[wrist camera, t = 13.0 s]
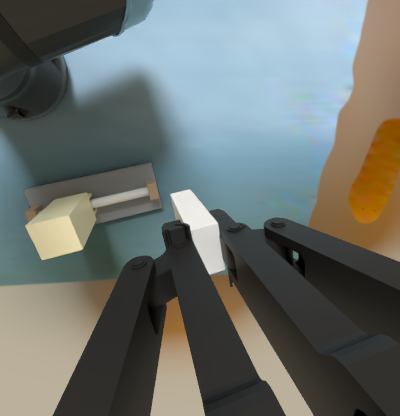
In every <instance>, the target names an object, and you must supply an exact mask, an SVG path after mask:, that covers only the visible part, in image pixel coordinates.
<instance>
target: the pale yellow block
mask: <svg viewBox="0 0 400 416" xmlns="http://www.w3.org/2000/svg"><path fill="white" fill-rule="evenodd" d="M91 196H92V194H91V193H87V192H86V193H81V194H77V195H72V196H68V197H63V198H59V199H55V200H54V201H52V202H51V203H50V204H49V205H48V206H47V207H46V208H45V209H43V210H42V211H41V212H40V213H39V214H38V215H37V216H35V217H34V218H33V219H32V220H31V221H30V222H29V223H27V224H26V225H25V227H26V229H27V231H28V233H29V235H30V237H31V239H32V241H33V243H34V245H35V247H36V249H37V251H38V253H39V255H40V257H41V259H42V260H46V259H49V258H53V257H57V256H61V255H64V254H68V253H72V252H76V251H80V250H83V248H84V246H85V244H86V242H87V239H88V237H89V235H90V233H91V230H92V228H93V226H94V224H95V221H96V216H95V214H96V212H97V208H94V209H93V208H92V206H91V203H90V200H89V199H90V198H91Z"/></svg>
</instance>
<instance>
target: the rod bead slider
mask: <svg viewBox="0 0 400 416" xmlns="http://www.w3.org/2000/svg"><path fill="white" fill-rule="evenodd" d="M86 192H87V193H91V194H92V196H91V198H90V199H89V200H90V203H91V206H92V208H93V209H94V208H97V212H96V214H95V216H96V221H95V224H99V223H103V222H107V221H111V220H115V219H119V218H123V217H127V216H131V215H135V214H139V213H143V212H147V211H151V210H155V209H159V208H162V204H161V199H160V195H159V191H158V187H157V183H156V179H155V175H154V171H153V167H152V163H151V162H149V163H144V164H139V165H135V166H130V167H125V168H120V169H116V170H111V171H106V172H102V173H97V174H92V175H87V176H83V177H78V178H73V179H69V180H64V181H59V182H54V183H50V184H45V185H40V186H35V187H31V188H26V189H24V190H23V193H24V195H25V197H26V199H27V201H28V203H29V205H30V208H29V209H28V210H26V211H25V212H24V214H25V216H26V218H27V220H28V222H30V221H31V220H32V219H33V218H34V217H35V216H37V215H38V214H39V213H40V212H41V211H42V210H43V209H45V208H46V207H47V206H48V205H49V204H50V203H51V202H52V201H54V200H55V199H59V198H63V197H68V196H72V195H77V194H81V193H86ZM95 224H94V225H95Z"/></svg>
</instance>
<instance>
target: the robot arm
mask: <svg viewBox="0 0 400 416" xmlns="http://www.w3.org/2000/svg"><path fill="white" fill-rule="evenodd" d="M152 4H153V0H0V117H3V118H8V119H18V120H28V119H35V118H39V117H42V116H44V115H46V114H48V113H50V112H51V111H52V110H54V109H55V108H56V107H57V106H58V104H59V103H60V102H61V100H62V98H63V96H64V93H65V90H66V86H67V69H66V64H65V61H64V58H63V55H65V54H67V53H70V52H72V51H75V50H77V49H80V48H82V47H84V46H87V45H89V44H92V43H94V42H97V41H99V40H101V39H104V38H106V37H109V36H111V35H112V36H114V37H115V36H119V35H121V33H123V32H124V30H126V29H128V28H130V27H132V26H134V25H137V24H139V23H141V22H142V21H144V20H145V19H146V17H147V15H148V14H149V12H150V11H151V8H152ZM170 196H171V200H172V204H173V209H174V213H175V217H176V221H172V222H168V223H165V224H164V225H163V226H162V235H163V238H164V242H165V246H166V251H165V252H164V254H163V255H161V256H160V257H158V258H157V259H155V260H153V258H152V257H150V256H140V257H136V258H133V259H132V260H130V261H129V262H127V263H126V265H125V266H124V268H123V270H122V272H121V274H120V276H119V278H118V280H117V282H116V285H115V287H114V289H113V291H112V293H111V295H110V298H109V299H108V301H107V303H106V305H105V308H104V309H103V312H102V314H101V316H100V318H99V320H98V322H97V324H96V326H95V328H94V330H93V332H92V335H91V337H90V339H89V341H88V343H87V345H86V347H85V349H84V351H83V353H82V356H81V358H80V360H79V362H78V364H77V366H76V368H75V370H74V372H73V374H72V376H71V378H70V380H69V383H68V385H67V387H66V389H65V391H64V393H63V395H62V397H61V400H60V401H59V403H58V406H57V408H56V410H55V412H54V414H53V416H150V412H151V406H152V399H153V393H154V387H155V380H156V373H157V367H158V361H159V354H160V348H161V341H162V335H163V328H164V322H165V316H166V309H167V306H166V303H167V302H168V301H170V300H172V299H173V298H175V297H177V296H178V300H179V305H180V309H181V313H182V317H183V321H184V326H185V330H186V334H187V338H188V342H189V347H190V351H191V355H192V359H193V364H194V368H195V372H196V376H197V380H198V385H199V389H200V393H201V397H202V402H203V407H204V412H205V416H286V415H285V413H284V412H283V410H282V408H281V406H280V404H279V402H278V400H277V398H276V396H275V394H274V392H273V391H272V389H271V387H270V386H269V384H268V383H267V382H266V381H263V380H261V379H260V377H259V376H258V374H257V372H256V370H255V368H254V366H253V364H252V362H251V359H250V357H249V355H248V353H247V351H246V349H245V347H244V345H243V343H242V341H241V339H240V337H239V335H238V333H237V331H236V329H235V327H234V325H233V322H232V320H231V318H230V316H229V315H228V312H227V310H226V308H225V306H224V304H223V302H222V300H221V298H220V296H219V294H218V292H217V290H216V288H215V285H214V283H213V281H212V280H211V277H210V275H209V274H213V273H216V272H219V271H222V270H225V265H224V262H225V263H226V265H227V269H228V275H229V282H230V287H232V282H233V283H234V284H235V286H236V288H237V289H238V291H239V293H240V294H241V296H242V297H243V299H244V301H245V303H246V304H247V306H248V307H249V309H250V311H251V312H252V314H253V316H254V317H255V319H256V320H257V322H258V324H259V326H260V327H261V329H262V331H263V332H264V334H265V335H266V337H267V339H268V340H269V342H270V344H271V345H272V347H273V349H274V350H275V352H276V354H277V355H278V357H279V359H280V360H281V362H282V364H283V365H284V367H285V369H286V370H287V372H288V373H289V375H290V377H291V378H292V380H293V382H294V383H295V385H296V387H297V388H298V390H299V392H300V393H301V395H302V397H303V398H304V400H305V401H306V403H307V405H308V406H309V408H310V410H311V411H312V413H313V415H314V416H400V262H398V261H396V260H393V259H391V258H388V257H385V256H383V255H380V254H378V253H375V252H372V251H370V250H367V249H364V248H361V247H359V246H356V245H354V244H351V243H348V242H346V241H343V240H341V239H338V238H335V237H333V236H330V235H328V234H325V233H322V232H319V231H317V230H314V229H311V228H309V227H306V226H304V225H301V224H299V223H296V222H293V221H291V220H288V219H284V218H272V219H269V220H267V221H265V223H264V229H256V230H251V229H250V228H249V227H248V226H247V225H245V224H243V223H236V222H235V221H234V220H233V219H232V218H230V217H229V216H228V215H227V214H226V213H225V212H224V211H223V210H220V209H216V210H212V211H207V209H206V208H205V207H204V206H203V205H202V203H201V202H200V201H199V200H198V198H197V197H196V196H195V195H194V194H193V192H192V191H191V190H190V189H189V190H185V191H181V192H176V193H172V194H170ZM293 251H295V252H297V253H299V259H298V260H296V259H294V258H293Z"/></svg>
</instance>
